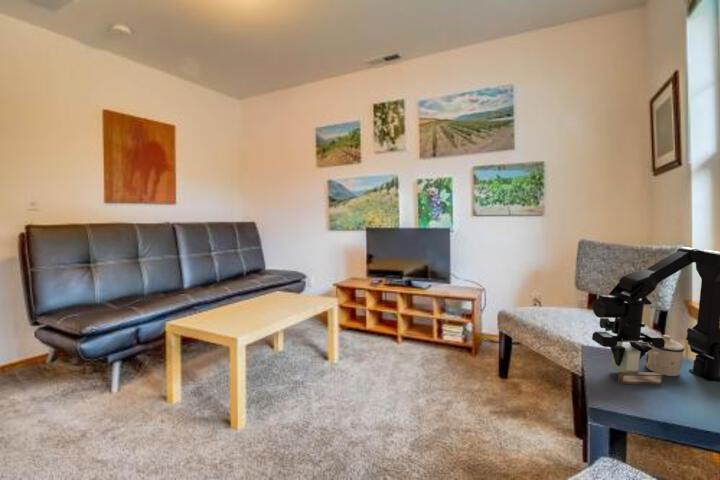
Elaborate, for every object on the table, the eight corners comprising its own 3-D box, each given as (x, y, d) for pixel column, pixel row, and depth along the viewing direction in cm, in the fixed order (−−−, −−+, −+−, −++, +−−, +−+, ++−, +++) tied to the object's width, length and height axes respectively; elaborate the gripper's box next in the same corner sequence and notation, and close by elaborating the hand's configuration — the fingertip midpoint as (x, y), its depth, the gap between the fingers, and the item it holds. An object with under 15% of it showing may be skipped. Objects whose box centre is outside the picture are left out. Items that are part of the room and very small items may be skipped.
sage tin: (623, 366, 117) (625, 343, 116) (637, 376, 111) (640, 351, 110) (610, 366, 117) (613, 343, 116) (624, 376, 111) (627, 351, 110)
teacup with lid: (653, 361, 125) (657, 328, 123) (686, 373, 117) (691, 338, 115) (633, 368, 119) (638, 334, 118) (667, 381, 111) (672, 345, 110)
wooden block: (657, 381, 111) (658, 372, 111) (661, 384, 109) (662, 375, 109) (617, 381, 111) (618, 371, 111) (621, 384, 109) (622, 374, 109)
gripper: (640, 309, 120) (635, 354, 122) (583, 308, 120) (579, 353, 122) (669, 321, 108) (662, 370, 111) (606, 320, 108) (601, 370, 111)
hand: (624, 365), depth 114 cm, fingers closed on sage tin, 4 cm apart
